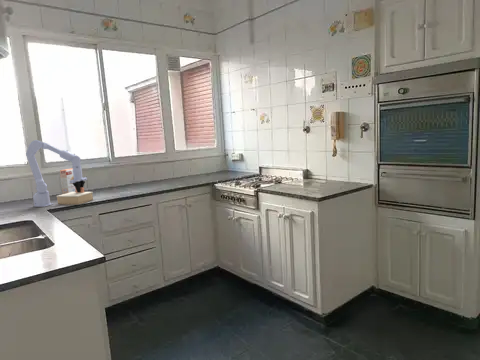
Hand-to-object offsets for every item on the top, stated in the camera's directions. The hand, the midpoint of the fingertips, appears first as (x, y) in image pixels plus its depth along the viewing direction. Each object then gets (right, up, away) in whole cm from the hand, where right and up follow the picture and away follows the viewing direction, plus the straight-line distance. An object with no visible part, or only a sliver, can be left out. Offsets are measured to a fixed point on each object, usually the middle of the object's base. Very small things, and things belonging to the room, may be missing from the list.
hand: (80, 191), depth 236 cm
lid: (-1, -2, -5) cm, 5 cm away
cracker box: (-16, -4, +22) cm, 28 cm away
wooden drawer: (-1, -7, -4) cm, 8 cm away
